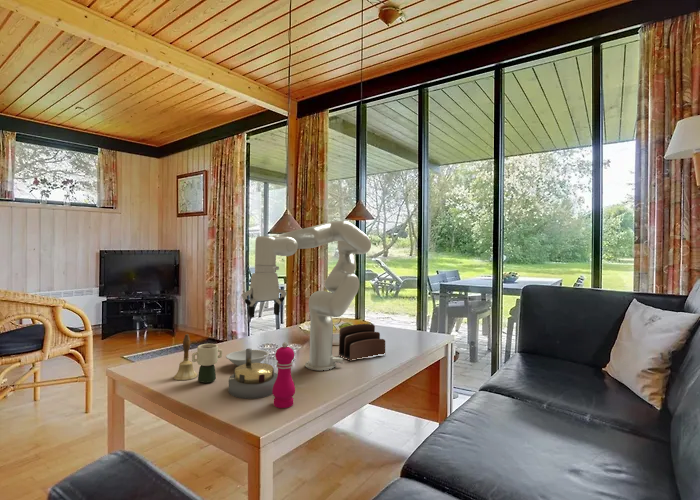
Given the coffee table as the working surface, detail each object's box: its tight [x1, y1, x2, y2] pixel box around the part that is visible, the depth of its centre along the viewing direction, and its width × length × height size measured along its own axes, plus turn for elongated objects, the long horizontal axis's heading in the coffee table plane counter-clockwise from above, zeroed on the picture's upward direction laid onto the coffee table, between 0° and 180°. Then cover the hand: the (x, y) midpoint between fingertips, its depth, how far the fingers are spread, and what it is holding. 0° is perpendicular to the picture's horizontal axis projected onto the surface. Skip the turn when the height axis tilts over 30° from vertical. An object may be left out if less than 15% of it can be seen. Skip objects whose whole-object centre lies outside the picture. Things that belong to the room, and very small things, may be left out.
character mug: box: [191, 343, 223, 383], centre depth 143 cm, size 11×7×13 cm, turn 128°
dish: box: [225, 349, 270, 367], centre depth 161 cm, size 18×14×5 cm
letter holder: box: [338, 323, 386, 360], centre depth 182 cm, size 10×20×14 cm, turn 122°
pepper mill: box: [272, 341, 296, 409], centre depth 125 cm, size 7×7×20 cm
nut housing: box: [228, 372, 278, 400], centre depth 137 cm, size 17×17×4 cm
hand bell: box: [173, 333, 198, 381], centre depth 147 cm, size 8×8×16 cm
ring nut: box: [233, 348, 275, 384], centre depth 137 cm, size 13×13×8 cm
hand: (264, 315), depth 145 cm, fingers open, 9 cm apart
